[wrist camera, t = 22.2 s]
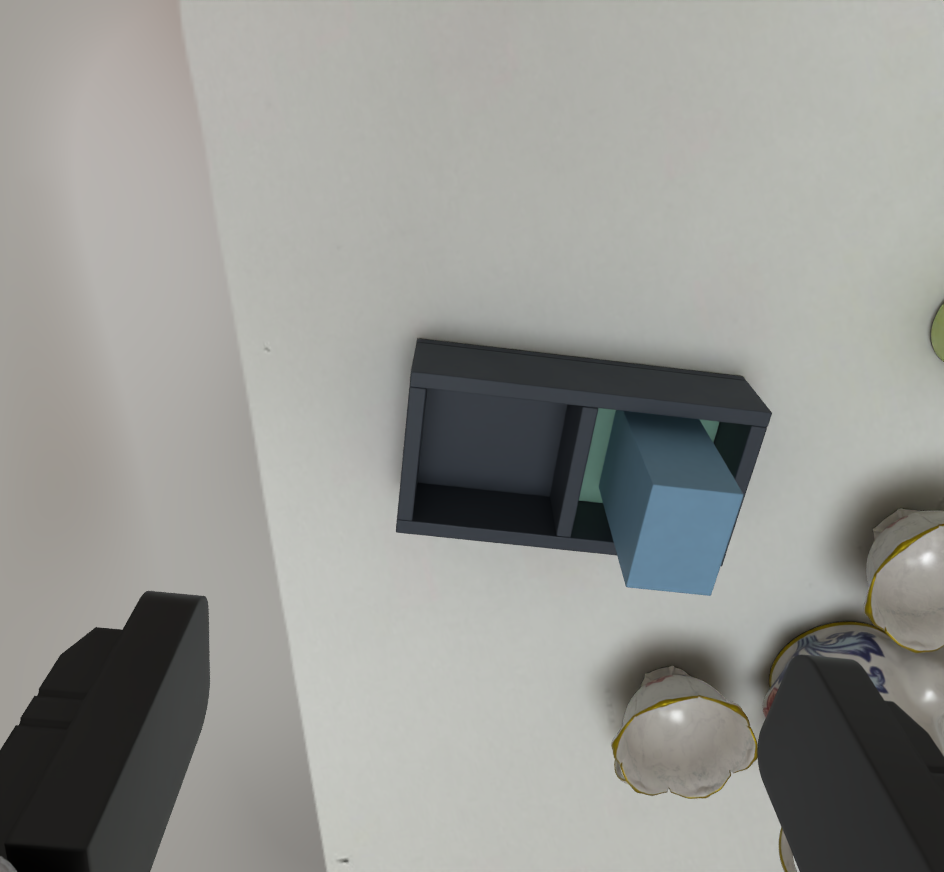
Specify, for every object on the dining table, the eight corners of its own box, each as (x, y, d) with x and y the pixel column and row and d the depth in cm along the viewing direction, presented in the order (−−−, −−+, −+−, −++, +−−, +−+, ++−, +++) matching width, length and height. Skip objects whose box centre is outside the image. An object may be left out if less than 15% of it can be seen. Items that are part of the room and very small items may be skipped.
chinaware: (910, 412, 44) (1102, 576, 29) (1086, 586, 48) (1342, 814, 32) (566, 691, 54) (575, 923, 39) (732, 819, 57) (801, 1079, 42)
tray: (700, 519, 46) (722, 566, 42) (402, 487, 45) (395, 532, 41) (743, 376, 42) (772, 412, 38) (417, 337, 41) (410, 371, 37)
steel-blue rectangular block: (598, 487, 44) (625, 587, 36) (618, 398, 41) (653, 484, 33) (668, 494, 44) (711, 596, 36) (692, 406, 42) (744, 494, 34)
